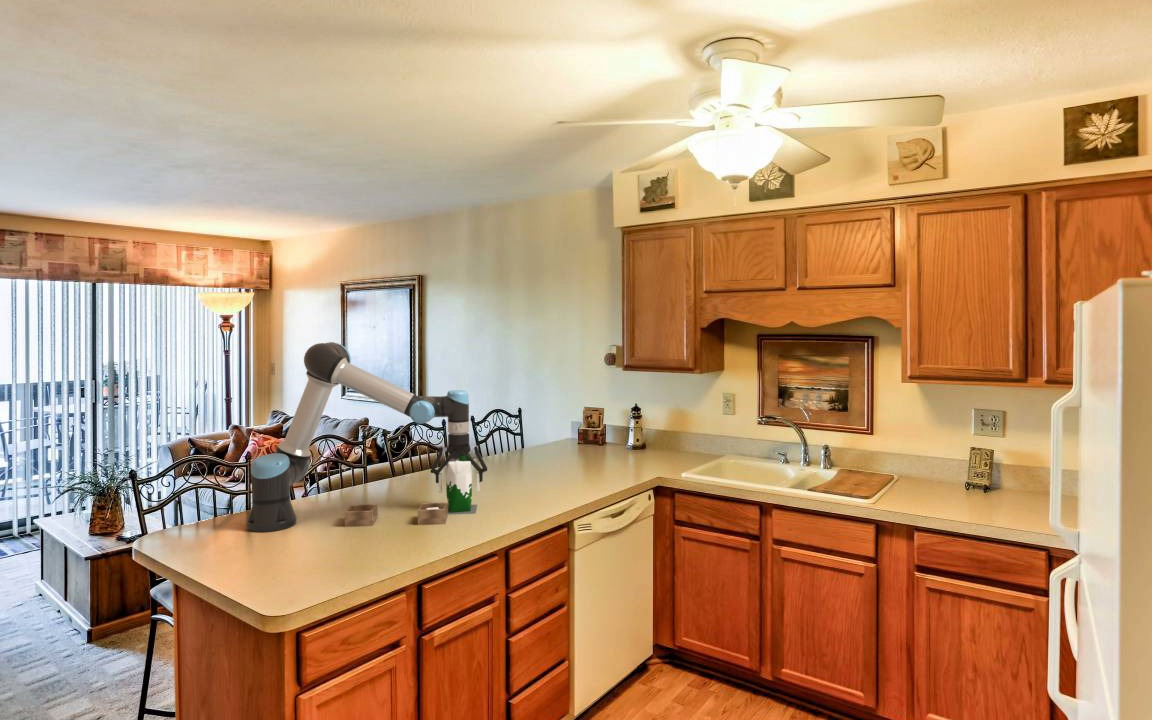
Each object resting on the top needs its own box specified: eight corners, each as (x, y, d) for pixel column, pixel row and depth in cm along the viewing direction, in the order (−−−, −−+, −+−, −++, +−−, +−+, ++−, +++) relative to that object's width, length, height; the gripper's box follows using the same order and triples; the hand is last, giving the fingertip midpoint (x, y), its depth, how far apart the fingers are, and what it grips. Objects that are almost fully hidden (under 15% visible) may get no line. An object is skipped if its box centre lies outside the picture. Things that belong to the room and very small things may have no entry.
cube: (428, 522, 221) (427, 511, 221) (426, 519, 225) (426, 508, 225) (439, 521, 223) (439, 509, 223) (438, 518, 226) (437, 507, 226)
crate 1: (344, 528, 218) (344, 512, 217) (351, 520, 227) (351, 505, 226) (372, 527, 219) (372, 511, 218) (378, 519, 228) (377, 504, 227)
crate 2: (417, 526, 219) (417, 510, 219) (421, 519, 228) (421, 503, 228) (445, 525, 220) (444, 509, 220) (447, 518, 229) (447, 502, 229)
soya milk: (473, 511, 235) (472, 456, 234) (447, 513, 232) (446, 457, 231) (470, 505, 243) (469, 451, 242) (445, 507, 241) (444, 453, 240)
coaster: (441, 516, 231) (441, 514, 231) (444, 507, 243) (444, 505, 243) (475, 515, 232) (475, 513, 232) (477, 506, 244) (477, 504, 244)
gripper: (422, 435, 231) (423, 495, 232) (493, 434, 234) (493, 492, 235) (424, 432, 239) (425, 489, 240) (493, 430, 241) (494, 487, 242)
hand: (459, 491), depth 237 cm, fingers open, 13 cm apart
